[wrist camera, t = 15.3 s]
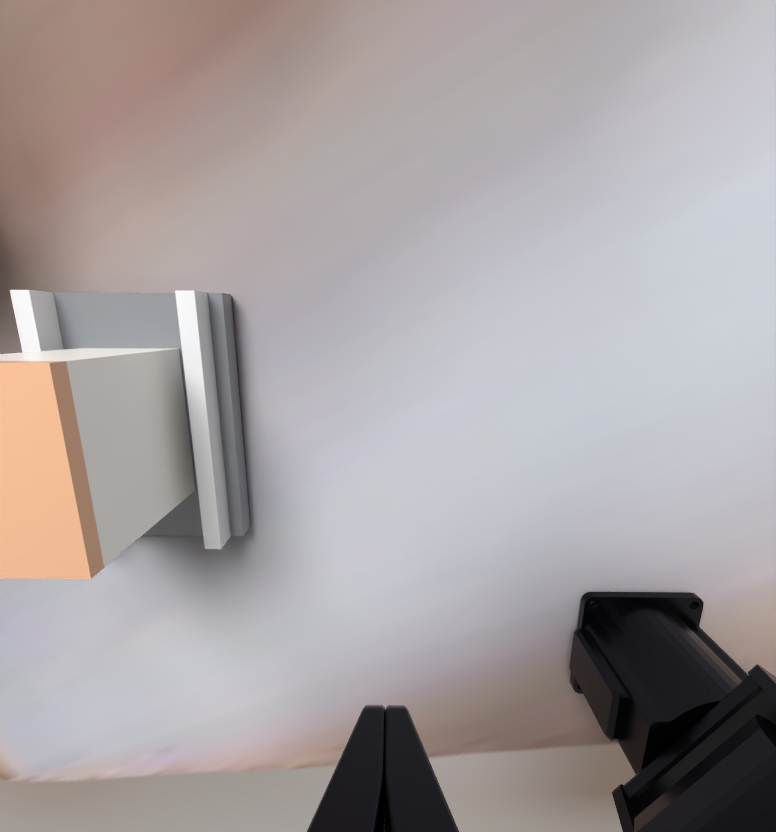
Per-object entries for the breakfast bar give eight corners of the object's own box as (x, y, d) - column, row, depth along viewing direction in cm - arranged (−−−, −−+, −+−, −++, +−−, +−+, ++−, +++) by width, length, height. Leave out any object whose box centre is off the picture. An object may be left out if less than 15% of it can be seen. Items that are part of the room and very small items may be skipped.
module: (178, 348, 18) (49, 363, 11) (195, 490, 20) (90, 578, 13) (81, 348, 18) (-108, 362, 11) (106, 489, 20) (-47, 578, 13)
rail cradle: (230, 294, 18) (209, 290, 16) (250, 526, 21) (234, 549, 19) (40, 294, 18) (-6, 289, 16) (84, 525, 21) (49, 548, 19)
